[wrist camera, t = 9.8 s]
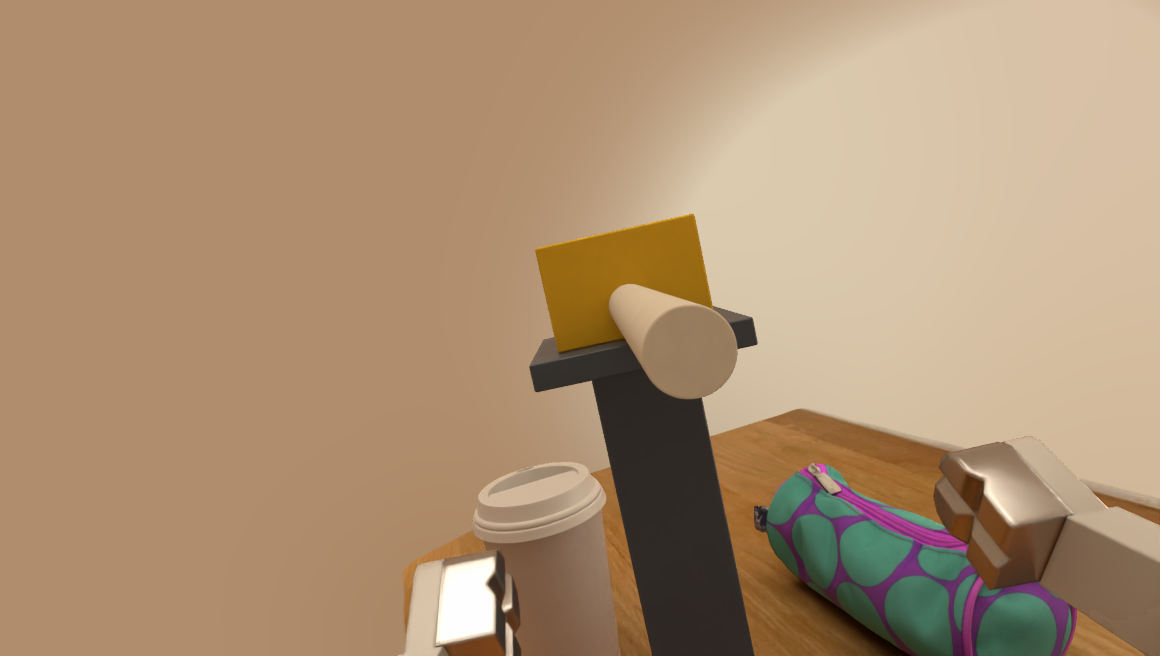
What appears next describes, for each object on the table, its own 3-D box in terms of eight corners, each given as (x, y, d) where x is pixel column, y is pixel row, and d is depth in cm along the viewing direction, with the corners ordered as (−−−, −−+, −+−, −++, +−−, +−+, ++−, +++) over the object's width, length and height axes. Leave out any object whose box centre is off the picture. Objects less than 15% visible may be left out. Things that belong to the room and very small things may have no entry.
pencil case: (764, 581, 53) (743, 472, 52) (852, 548, 55) (833, 443, 54) (981, 750, 33) (952, 577, 32) (1106, 687, 35) (1082, 524, 34)
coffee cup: (645, 631, 49) (605, 449, 48) (642, 721, 40) (592, 498, 39) (529, 647, 51) (486, 470, 49) (499, 736, 41) (446, 521, 40)
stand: (919, 998, 23) (790, 312, 21) (654, 1048, 23) (497, 376, 21) (818, 779, 33) (723, 298, 31) (633, 816, 33) (524, 341, 31)
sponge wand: (881, 384, 10) (839, 142, 10) (528, 459, 11) (474, 224, 10) (688, 308, 29) (671, 224, 29) (562, 336, 29) (544, 252, 29)
